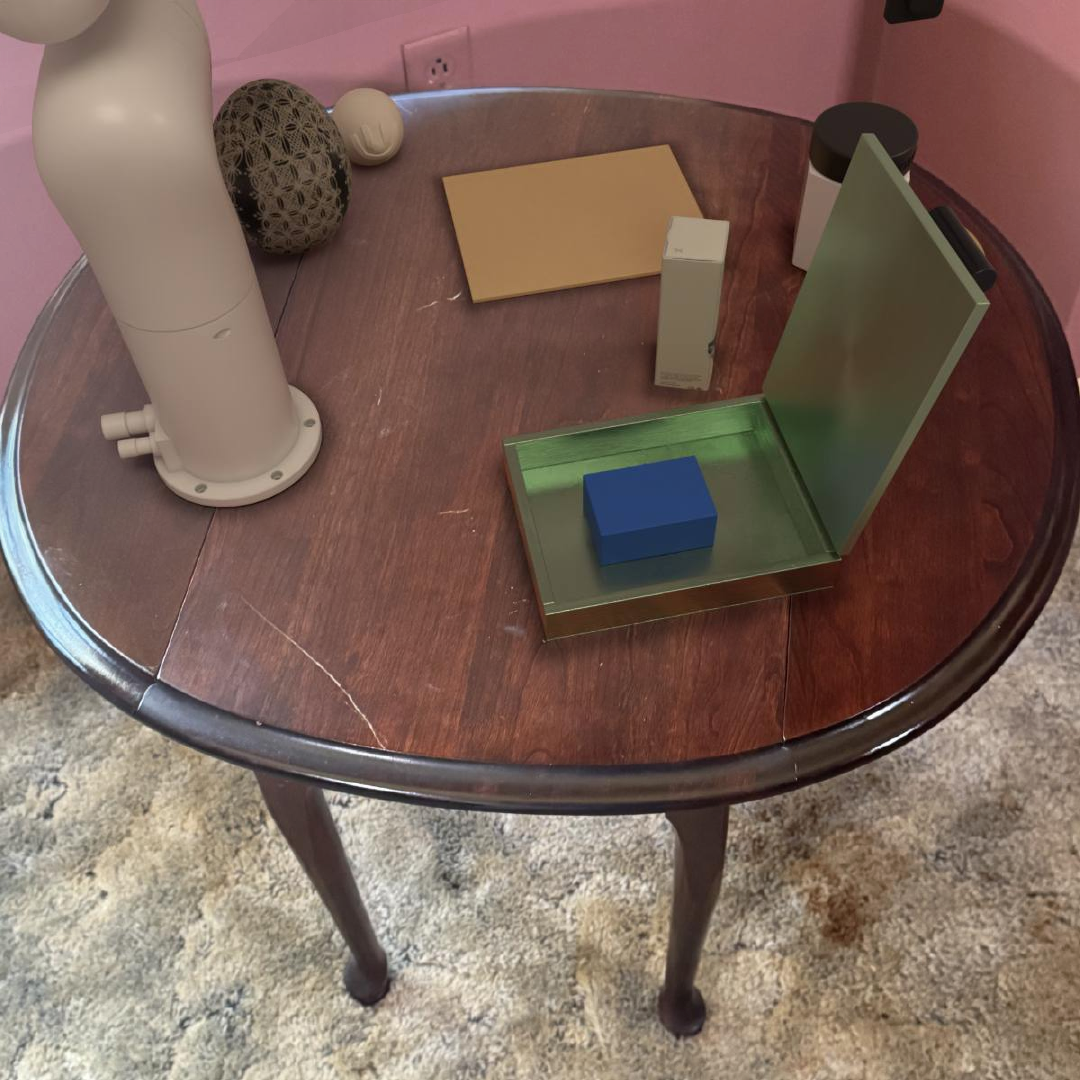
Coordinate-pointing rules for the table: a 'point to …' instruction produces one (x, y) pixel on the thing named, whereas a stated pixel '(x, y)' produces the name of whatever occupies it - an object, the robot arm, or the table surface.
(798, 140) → the table surface
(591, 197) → the placemat
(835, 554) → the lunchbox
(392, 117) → the cream embossed ball
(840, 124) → the jar
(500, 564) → the table surface
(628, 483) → the block
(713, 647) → the table surface
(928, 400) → the lunchbox lid
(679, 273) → the box
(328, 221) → the decorative egg
